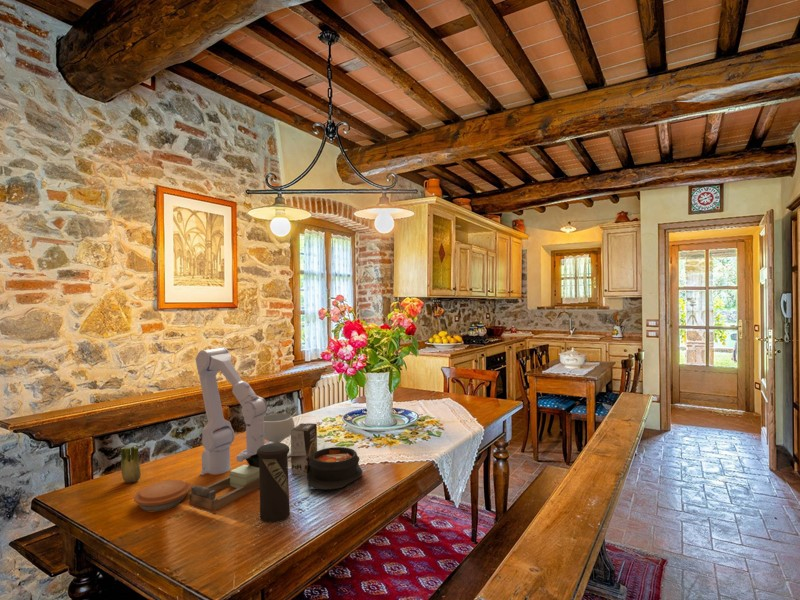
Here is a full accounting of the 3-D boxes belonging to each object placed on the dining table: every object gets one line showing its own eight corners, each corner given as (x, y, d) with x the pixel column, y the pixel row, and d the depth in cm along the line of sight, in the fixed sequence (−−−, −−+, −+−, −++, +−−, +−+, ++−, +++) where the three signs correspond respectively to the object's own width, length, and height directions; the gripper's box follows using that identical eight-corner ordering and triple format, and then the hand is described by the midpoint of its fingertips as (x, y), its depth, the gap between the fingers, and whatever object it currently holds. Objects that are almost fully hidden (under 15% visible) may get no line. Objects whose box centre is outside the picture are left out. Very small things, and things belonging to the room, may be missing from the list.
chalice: (250, 458, 171) (249, 419, 171) (277, 447, 183) (277, 410, 183) (275, 464, 164) (274, 424, 164) (302, 452, 176) (301, 415, 176)
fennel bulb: (119, 482, 151) (118, 447, 151) (133, 477, 155) (132, 443, 155) (129, 485, 148) (128, 450, 148) (143, 480, 153) (142, 445, 153)
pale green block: (229, 486, 144) (229, 471, 143) (244, 479, 149) (244, 464, 149) (245, 490, 140) (245, 474, 140) (260, 483, 146) (260, 467, 145)
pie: (160, 519, 126) (160, 501, 126) (121, 511, 131) (121, 494, 131) (202, 495, 140) (202, 479, 140) (165, 489, 146) (165, 473, 145)
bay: (187, 507, 132) (186, 485, 132) (251, 476, 154) (250, 457, 154) (213, 515, 127) (212, 492, 127) (275, 482, 149) (274, 463, 149)
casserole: (320, 463, 164) (319, 441, 164) (369, 465, 161) (368, 442, 161) (294, 494, 139) (294, 467, 139) (352, 496, 137) (351, 469, 137)
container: (274, 526, 120) (272, 453, 120) (251, 518, 125) (250, 447, 124) (297, 513, 127) (295, 443, 127) (275, 505, 132) (273, 438, 132)
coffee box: (308, 477, 152) (307, 430, 151) (290, 476, 153) (289, 430, 153) (318, 467, 160) (317, 423, 160) (301, 466, 162) (300, 422, 162)
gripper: (247, 443, 140) (248, 486, 140) (279, 430, 153) (280, 470, 153) (231, 440, 144) (232, 482, 144) (264, 428, 156) (265, 466, 157)
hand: (256, 475), depth 149 cm, fingers closed
